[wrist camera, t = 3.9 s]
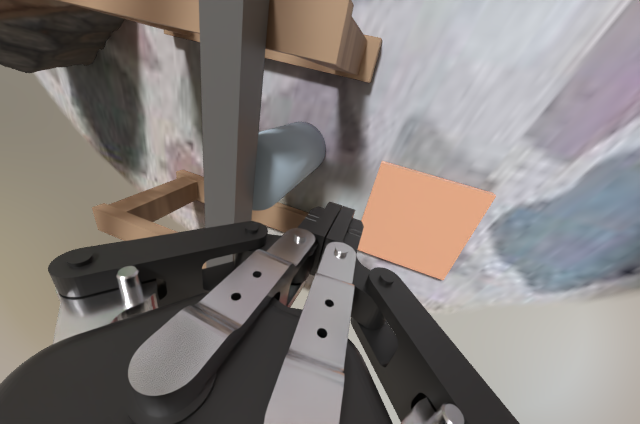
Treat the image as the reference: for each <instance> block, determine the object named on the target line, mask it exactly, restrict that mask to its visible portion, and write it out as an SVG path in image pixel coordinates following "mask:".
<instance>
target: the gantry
mask: <svg viewBox="0 0 640 424" xmlns="http://www.w3.org/2000/svg"><path fill="white" fill-rule="evenodd" d="M56 1H60V2H64V3H67V4H71V5H75V6H79V7H82V8H86V9H90V10H93V11H97V12H101V13H104V14H108V15H112V16H116V17H119V18H123V19H127V20H130V21H134V22H138V23H142V24H145V25H149V26H153V27H156V28H160V29H164V34H167V35H171V36H175V37H180V38H184V39H188V40H192V41H196V42H200V28H199V0H56ZM353 6H354V5H353V3H352V1H351V0H269V11H268V23H267V36H266V48H265V58H268V59H272V60H276V61H280V62H285V63H289V64H293V65H297V66H301V67H306V68H310V69H314V70H318V71H322V72H327V73H331V74H335V75H339V76H343V77H348V78H352V79H356V80H360V81H364V82H369V83H371V80H372V76H373V72H374V69H375V65H376V62H377V58H378V54H379V51H380V47H381V43H382V39H381V38H378V37H373V36H368V35H363V33H362V31H361V30H360V28H359V27H358V25H357V24H356V22H355V21H354V19H353V18H352V11H353ZM176 176H177V179H175V180H173V181H170V182H167V183H165V184H162V185H159V186H157V187H154V188H152V189H149V190H146V191H144V192H141V193H138V194H136V195H133V196H130V197H128V198H125V199H122V200H120V201H117V202H114V203H112V204H109V205H107V204H105V203H103V204H100V205H97V206H95V207H93V208H92V209H93V213H94V217H95V220H96V224H97V227H98V230H100V231H102V232H105V233H107V234H109V235H112V236H114V237H117V238H119V239H121V240H124V241H128V240H134V239H141V238H147V237H153V236H159V235H165V234H172V233H178V232H176V231H173V230H171V229H168V228H166V227H163V226H161V225H158V224H156V223H153V222H154V221H155V220H158V219H159V218H162V217H163V216H165V215H167V214H169V213H171V212H173V211H175V210H177V209H179V208H181V207H183V206H185V205H187V204H189V203H191V202H193V201H195V200H197V201H200V202H202V203H204V177H202V176H200V175H197V174H194V173H191V172H188V171H185V170H180V171H177V172H176ZM308 214H309V213H308V212H305V211H302V210H299V209H296V208H293V207H290V206H287V205H284V204H281V203H278V202H277V203H276V204H275V205H273V206H272V207H270V208H268V209H266V210H260V211H254V210H252V219H251V220H252V221H255V222H259V223H261V224H263V225H266V226H269V227H271V228H274V229H277V230H280V231H282V232H285V233H286V232H287V231H288V230H290V229H293V228H298V226H299V225H300V224H301V223H302V221H303V220H304V219H305V218H306V216H307V215H308ZM204 268H206V262H205V263H204V264H203V266H202V269H204Z"/></svg>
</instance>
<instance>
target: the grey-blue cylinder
mask: <svg viewBox="0 0 640 424" xmlns="http://www.w3.org/2000/svg"><path fill="white" fill-rule="evenodd" d="M325 152H326V145H325V141H324V138H323V136H322V134H321V133H320V131H319V130H318V129H317V128H316V127H314V126H313V125H311V124H309V123H306V122H295V123H291V124H288V125H284V126H280V127H276V128H273V129H269V130H265V131H261V132H259V133H258V145H257V158H256V170H255V182H254V194H253V206H252V210H254V211H260V210H266V209H268V208H270V207H272V206H273V205H275V204H276V203H277V202H278V201H279V200H280V199H281V198H283V197H284V196H285V195H286V194H287V193H288V192H290V191H291V190H292V189H293V188H294V187H295V186H296V185H298V184H299V183H300V182H301V181H302V180H303V179H305V178H306V177H307V176H308V175H309V174H310V173H311V172H313V171H314V170H315V169H316V168H317V167H318V166H319V165H320V164H321V163H322V161H323V159H324V157H325Z"/></svg>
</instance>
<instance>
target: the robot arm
mask: <svg viewBox="0 0 640 424" xmlns="http://www.w3.org/2000/svg"><path fill="white" fill-rule="evenodd" d="M354 212H355V210H354V209H351V208H348V207H345V206H342V205H339V204H336V203H333V202H329V203H328V205H327V206H326V208H325V209H324V208H321V207H316V208H314V209H312V210H311V211H310V212H309V214H308V215H307V216H306V218H305V219H304V220H303V221H302V223H301V224H300V225H299V226H298V228H293V229H290V230H288V231H287V232H286V233H285V234H284V235H283V236H278V235H270V234H267V233H268V230H267V228H266V226H265V225H263V224H261V223H259V222H254V221H246V222H240V223H234V224H228V225H221V226H215V227H209V228H203V229H197V230H190V231H185V232H178V233H172V234H165V235H159V236H153V237H147V238H141V239H134V240H128V241H122V242H116V243H109V244H103V245H98V246H91V247H85V248H79V249H75V250H72V251H69V252H66V253H64V254H62V255H60V256H58V257H57V258H55V259H54V260H53V261H52V262H51V263H50V265H49V267H48V271H49V273H50V275H51V278H52V280H53V282H54V284H55V287H56V293H57V295H58V297H59V299H60V302H61V304H60V309H59V314H58V320H57V325H56V330H55V335H54V340H53V344H52V345H51V346H49V347H47V348H45V349H43V350H41V351H40V352H38V353H37V354H35V355H34V356H32V357H31V358H29V359H28V360H27V361H25V362H24V363H22V364H21V365H20V366H19V367H18V368H16V369H15V370H14V371H13V372H12V373H11V374H10V375H9V376H8V377H7V378H6V379H5V380H4V381H3V382H2V383H1V384H0V424H393V423H392V421H391V419H390V417H389V415H388V412H387V410H386V408H385V406H384V403H383V402H382V399H381V397H380V395H379V393H378V390H377V388H376V386H375V384H374V382H373V379H372V377H371V375H370V373H369V370H368V368H367V366H366V364H365V362H364V360H363V358H362V356H361V354H360V352H359V351H358V349H357V348H356V347H355V345H354V344H353V343H352V342H351V341H350V340H349V339H348V332H349V323H350V317H351V324H352V326H353V329H354V330H355V332H356V334H357V336H358V338H359V340H360V342H361V344H362V346H363V348H364V350H365V352H366V354H367V356H368V358H369V360H370V362H371V364H372V366H373V368H374V370H375V372H376V374H377V376H378V378H379V380H380V382H381V383H382V385H383V387H384V389H385V391H386V393H387V395H388V397H389V399H390V401H391V403H392V405H393V407H394V409H395V411H396V413H397V415H398V417H399V419H400V421H401V424H519V422H518V421H517V420H516V419H515V417H514V416H513V415H512V414H511V413H510V411H509V410H508V409H507V408H506V407H505V405H504V404H503V403H502V402H501V400H500V399H499V398H498V397H497V396H496V394H495V393H494V392H493V391H492V390H491V388H490V387H489V386H488V385H487V384H486V382H485V381H484V380H483V379H482V377H481V376H480V375H479V374H478V372H477V371H476V370H475V369H474V368H473V366H472V365H471V364H470V363H469V362H468V360H467V359H466V358H465V357H464V355H463V354H462V353H461V352H460V351H459V349H458V348H457V347H456V346H455V345H454V343H453V342H452V341H451V340H450V338H449V337H448V336H447V335H446V334H445V332H444V331H443V330H442V329H441V327H439V325H438V324H437V323H436V321H435V320H434V319H433V318H432V317H431V315H430V314H429V313H428V312H427V310H426V309H425V308H424V307H423V306H422V304H421V303H420V302H419V301H418V300H417V298H416V297H415V296H414V295H413V293H412V292H411V291H410V290H409V289H408V287H407V286H406V285H405V284H404V282H403V281H402V280H401V279H400V278H399V277H398V276H397V275H396V274H395V273H394V272H392V271H390V270H388V269H385V268H374V269H372V270H371V271H370V270H369V269H367V268H366V267H364V266H363V265H362V264H361V263H360V262H359V261H358V259H357V256H356V253H357V249H358V246H359V242H360V239H361V235H362V232H363V228H364V226H363V223H362V221H360V220H357V219H354V218H353V216H354ZM231 254H234V261H232V262H228V263H224V264H220V265H216V266H212V267H208V268H204V269H202V266H203V264H204V263H205V262H206V261H208V260H210V259H214V258H218V257H223V256H227V255H231ZM317 269H318V270H317ZM316 271H317V272H316ZM315 273H316V274H315ZM309 274H311V275H314V276H315V277H314V280H313V283H312V286H311V288H310V291H309V294H308V297H307V300H306V303H305V305H304V308H303V310H301V309H295V308H290V307H291V305H292V304H293V302H294V301H295V299H296V297H297V296H298V294H299V293H300V291H301V290H302V288H303V286H304V284H305V280H306V279H307V277H308V275H309ZM386 320H387V321H386ZM391 328H392V329H391ZM393 331H394V332H393Z"/></svg>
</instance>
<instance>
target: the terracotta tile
mask: <svg viewBox="0 0 640 424" xmlns="http://www.w3.org/2000/svg"><path fill="white" fill-rule="evenodd" d="M495 197H496V195H495V194H494V193H492V192H488V191H485V190H482V189H478V188H475V187H471V186H468V185H464V184H461V183H457V182H454V181H450V180H447V179H444V178H440V177H437V176H433V175H430V174H426V173H423V172H419V171H416V170H412V169H409V168H406V167H402V166H399V165H395V164H392V163H388V162H385V161H382V162H381V165H380V168H379V171H378V174H377V177H376V179H375V182H374V185H373V188H372V191H371V194H370V197H369V200H368V203H367V206H366V209H365V211H364V214H363V217H362V220H361V221H362V223H363V226H364V228H363V232H362V235H361V239H360V242H359V246H358V249H357V250H359V251H362V252H365V253H368V254H371V255H373V256H376V257H379V258H382V259H385V260H388V261H390V262H393V263H396V264H399V265H402V266H404V267H407V268H410V269H413V270H416V271H418V272H421V273H424V274H427V275H430V276H432V277H435V278H438V279H441V280H444V278H445V277H446V275H447V274H448V272H449V270H450V269H451V267H452V266H453V264H454V262H455V261H456V259H457V258H458V256H459V254H460V253H461V251H462V250H463V248H464V246H465V245H466V243H467V242H468V240H469V239H470V237H471V235H472V234H473V232H474V231H475V229H476V227H477V226H478V224H479V223H480V221H481V219H482V218H483V216H484V215H485V213H486V211H487V210H488V208H489V207H490V205H491V203H492V202H493V200H494V199H495Z"/></svg>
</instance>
